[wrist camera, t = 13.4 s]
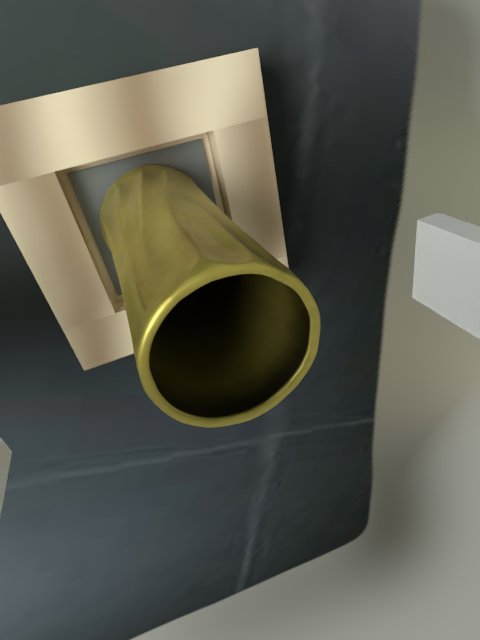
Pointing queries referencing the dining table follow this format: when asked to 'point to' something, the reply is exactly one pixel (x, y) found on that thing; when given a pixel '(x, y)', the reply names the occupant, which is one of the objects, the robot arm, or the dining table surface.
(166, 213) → the vase
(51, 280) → the square wooden frame
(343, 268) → the dining table surface
